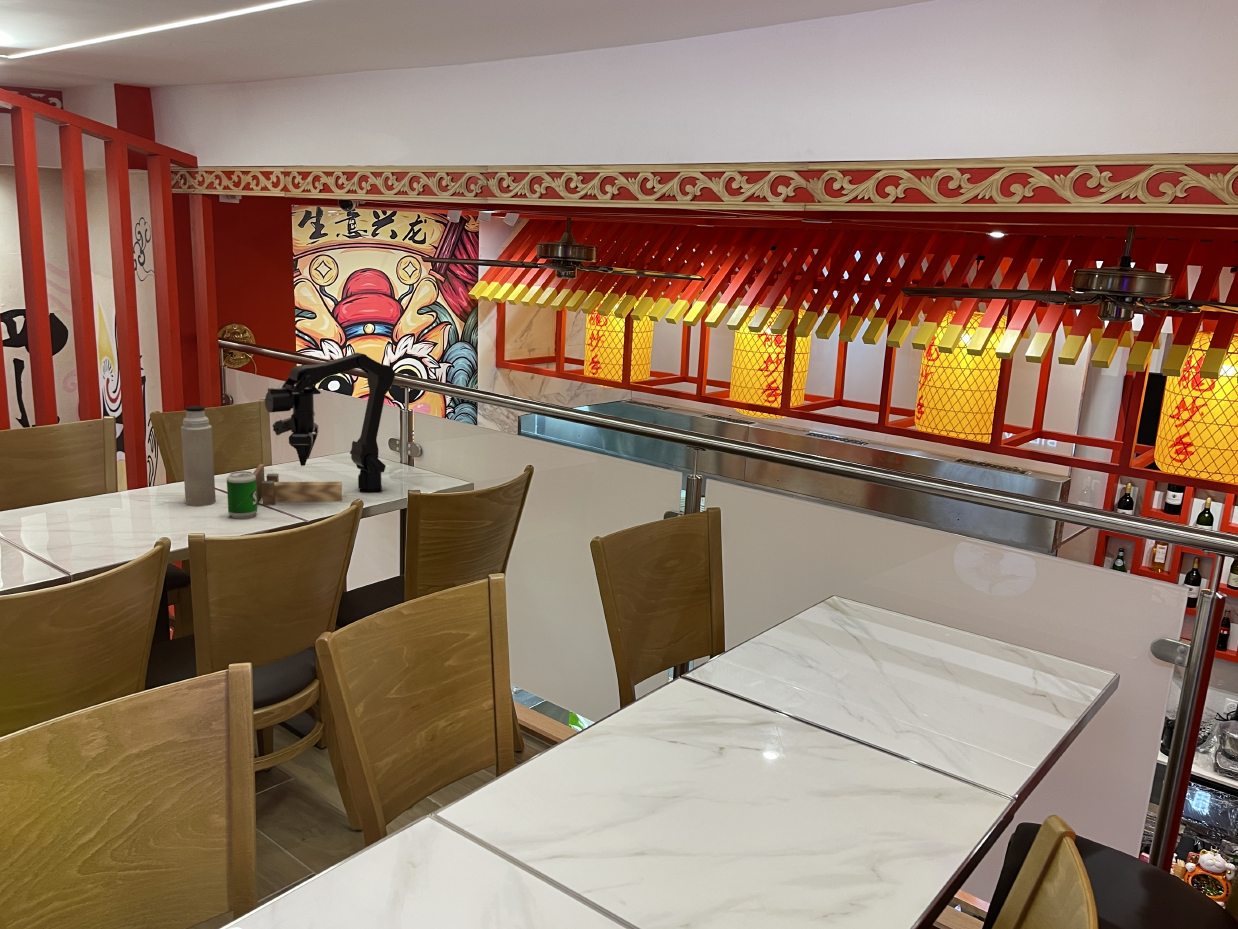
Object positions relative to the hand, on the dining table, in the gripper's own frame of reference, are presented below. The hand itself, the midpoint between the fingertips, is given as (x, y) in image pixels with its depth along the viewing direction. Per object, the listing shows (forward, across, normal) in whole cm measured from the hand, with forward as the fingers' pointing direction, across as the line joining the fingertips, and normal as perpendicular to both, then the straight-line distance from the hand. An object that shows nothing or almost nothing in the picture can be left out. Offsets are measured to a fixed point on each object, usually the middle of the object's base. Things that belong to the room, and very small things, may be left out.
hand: (304, 462), depth 278 cm
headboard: (+12, 0, -11) cm, 16 cm away
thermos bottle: (+12, +2, -29) cm, 31 cm away
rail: (+12, 0, 0) cm, 12 cm away
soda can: (+12, +16, -15) cm, 25 cm away
